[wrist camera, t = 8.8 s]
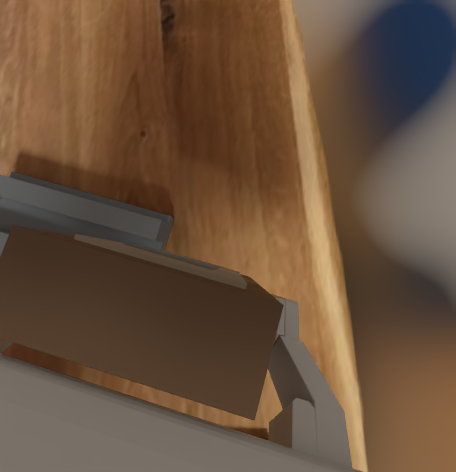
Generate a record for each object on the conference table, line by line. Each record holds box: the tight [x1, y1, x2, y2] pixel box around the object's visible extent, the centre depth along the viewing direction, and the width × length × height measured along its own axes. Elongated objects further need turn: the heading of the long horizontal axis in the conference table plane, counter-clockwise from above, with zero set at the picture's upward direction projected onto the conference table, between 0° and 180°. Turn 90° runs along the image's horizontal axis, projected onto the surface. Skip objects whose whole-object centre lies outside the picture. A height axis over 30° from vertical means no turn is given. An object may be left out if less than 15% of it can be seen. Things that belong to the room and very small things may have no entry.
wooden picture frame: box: [0, 225, 284, 420], centre depth 11 cm, size 3×6×11 cm, turn 74°
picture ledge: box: [0, 172, 174, 256], centre depth 27 cm, size 10×20×4 cm, turn 74°
